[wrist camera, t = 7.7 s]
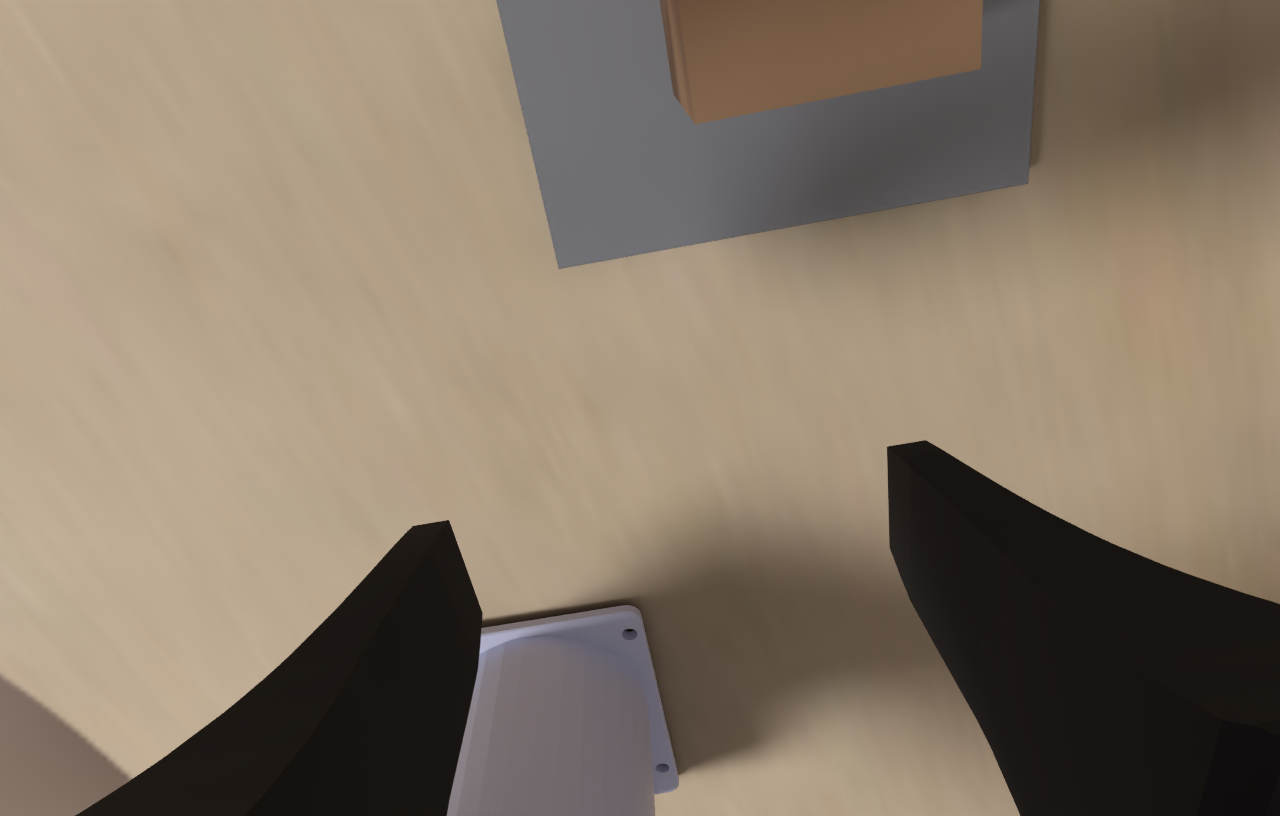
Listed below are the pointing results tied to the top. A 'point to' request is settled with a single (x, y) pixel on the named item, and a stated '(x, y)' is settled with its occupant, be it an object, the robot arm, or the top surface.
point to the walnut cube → (810, 49)
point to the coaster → (746, 134)
